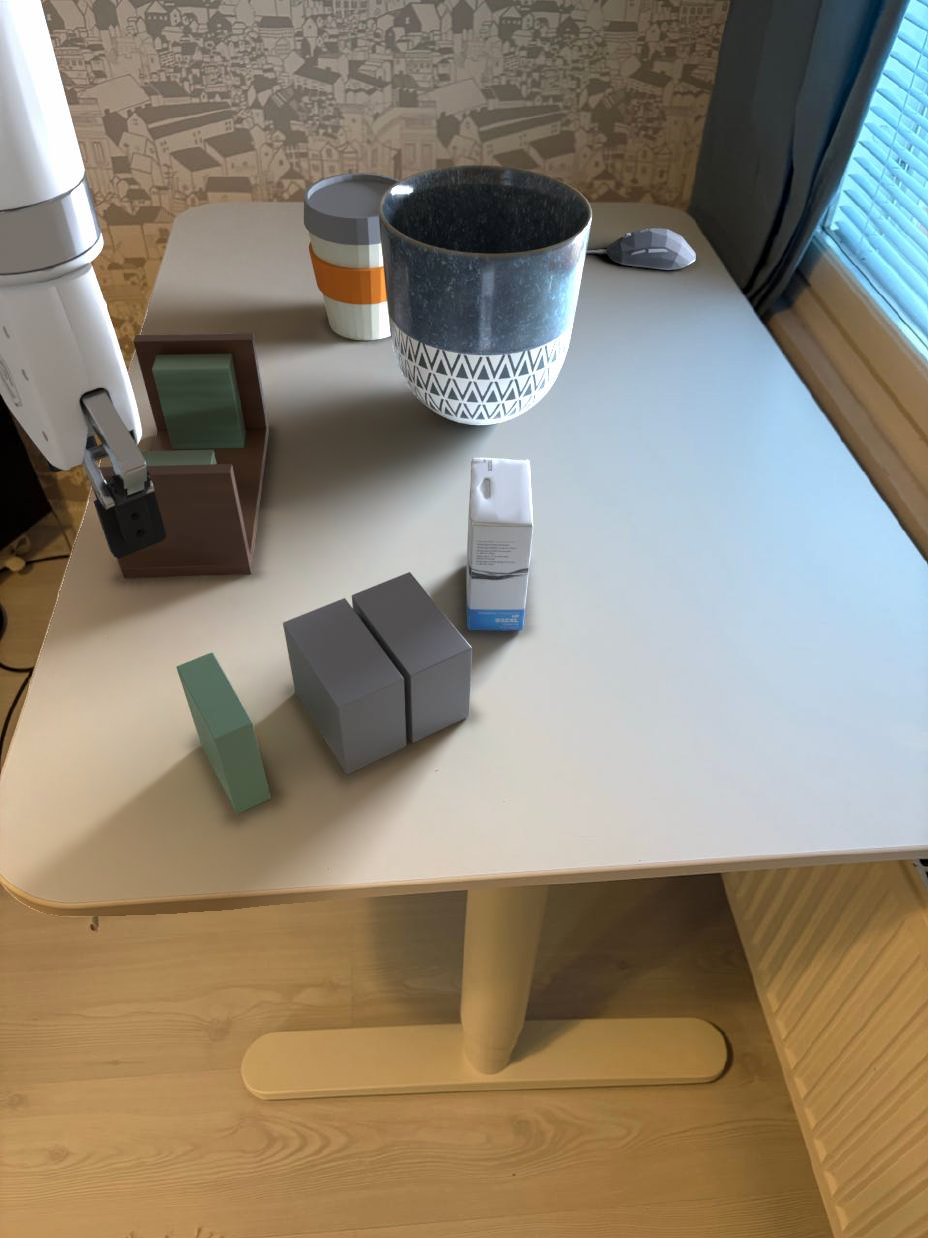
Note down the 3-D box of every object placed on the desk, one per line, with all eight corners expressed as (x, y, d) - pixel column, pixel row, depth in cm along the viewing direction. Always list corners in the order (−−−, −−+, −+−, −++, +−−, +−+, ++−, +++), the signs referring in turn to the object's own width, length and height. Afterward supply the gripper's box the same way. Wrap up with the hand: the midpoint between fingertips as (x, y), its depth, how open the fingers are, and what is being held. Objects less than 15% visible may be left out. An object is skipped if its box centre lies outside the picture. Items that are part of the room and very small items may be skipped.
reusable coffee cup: (333, 357, 105) (322, 226, 94) (300, 306, 112) (286, 181, 101) (434, 336, 108) (434, 208, 97) (395, 288, 116) (391, 165, 105)
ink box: (524, 632, 76) (535, 526, 68) (465, 631, 76) (469, 524, 68) (520, 562, 82) (531, 456, 73) (466, 560, 82) (470, 454, 73)
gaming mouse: (585, 243, 126) (589, 214, 123) (693, 252, 125) (699, 223, 122) (583, 263, 122) (586, 234, 119) (694, 273, 121) (701, 244, 118)
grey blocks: (346, 775, 66) (338, 708, 60) (294, 691, 71) (282, 622, 65) (469, 716, 70) (472, 647, 64) (411, 641, 75) (409, 571, 69)
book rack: (251, 574, 80) (230, 472, 72) (123, 578, 79) (87, 476, 71) (269, 431, 95) (253, 332, 86) (161, 433, 94) (135, 334, 86)
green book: (236, 815, 64) (214, 739, 57) (200, 744, 68) (175, 666, 61) (271, 798, 65) (252, 722, 58) (233, 729, 69) (212, 651, 62)
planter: (602, 429, 96) (635, 227, 81) (440, 482, 89) (441, 273, 74) (507, 343, 108) (520, 151, 92) (357, 384, 101) (343, 185, 85)
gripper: (-123, 176, 46) (-5, 454, 58) (-7, 318, 37) (103, 612, 49) (27, 146, 49) (108, 415, 62) (167, 269, 40) (229, 557, 52)
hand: (106, 502), depth 55 cm, fingers open, 9 cm apart
